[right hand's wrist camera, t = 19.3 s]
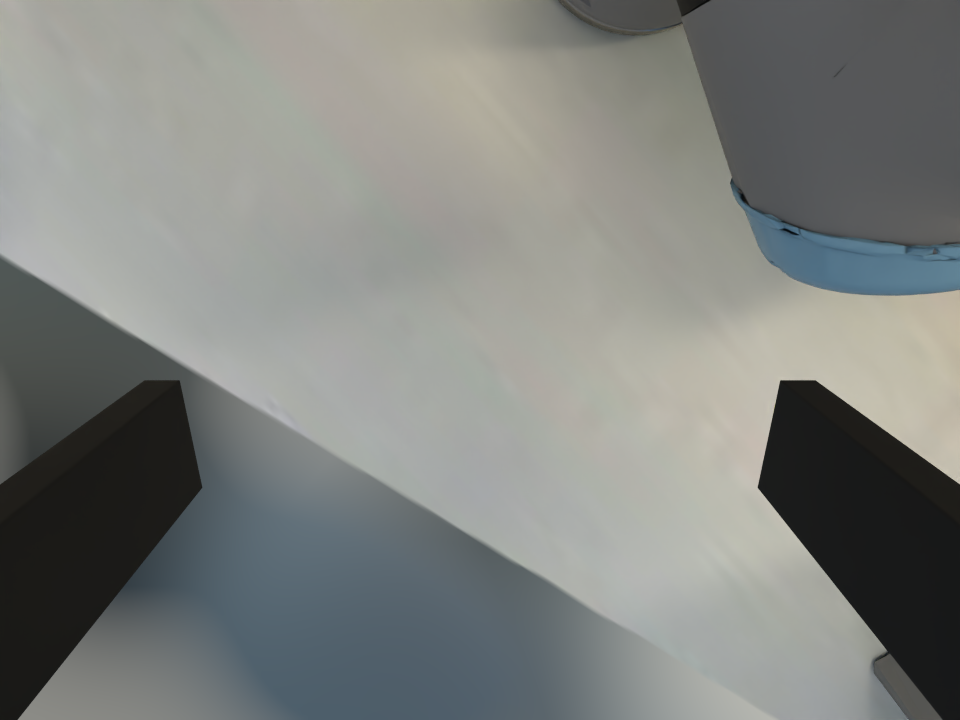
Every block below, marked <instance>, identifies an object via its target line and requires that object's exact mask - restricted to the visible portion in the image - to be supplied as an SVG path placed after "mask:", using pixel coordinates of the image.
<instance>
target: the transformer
mask: <svg viewBox="0 0 960 720" xmlns="http://www.w3.org/2000/svg"><path fill="white" fill-rule="evenodd" d="M874 674H875V675H876V676H877V678H878V679H879V680H880V682H881V683H882V684H883V686H884V687H885V688H886V690H887V691H888V692H889V694H890V695H891V696H892V698H893V699H894V700H895V702H896V703H897V704H898V706H899V707H900V708H901V710H902V711H903V712H904V714H905V715H906V716H907V718H908V719H909V720H942V719H941V717H940V716H939V715H938V713H937V712H936V711H935V710H934V708H933V707H932V706H931V705H930V703H929V702H928V701H927V700H926V698H925V697H924V696H923V695H922V693H921V692H920V691H919V690H918V688H917V687H916V686H915V685H914V683H913V682H912V681H911V680H910V678H909V677H908V676H907V675H906V673H905V672H904V671H903V669H902V668H901V667H900V666H899V664H898V663H897V662H896V661H895V659H894V658H893V657H892V656H891V654H888V655H887V656H885V657H883V658H881V659H879V660H877V661H875V662H874Z"/></svg>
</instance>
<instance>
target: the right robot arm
mask: <svg viewBox="0 0 960 720" xmlns="http://www.w3.org/2000/svg"><path fill="white" fill-rule="evenodd" d="M558 1H559V2H560V3H561V4H562V5H563V6H564V7H565V8H566V9H568V10H569V11H570V12H571V13H572V14H574V15H575V16H577V17H578V18H579V19H581V20H583V21H584V22H586V23H588V24H590V25H592V26H594V27H597V28H599V29H602V30H605V31H608V32H612V33H618V34H623V35H647V34H653V33H659V32H662V31H666V30H669V29H672V28H675V27H677V26H680V25H682V24H683V26H684V29H685V32H686V35H687V38H688V42H689V45H690V48H691V51H692V54H693V57H694V60H695V63H696V67H697V70H698V73H699V76H700V79H701V82H702V85H703V88H704V91H705V95H706V98H707V101H708V104H709V107H710V110H711V113H712V116H713V119H714V123H715V126H716V129H717V132H718V135H719V138H720V141H721V144H722V147H723V151H724V154H725V157H726V160H727V163H728V166H729V169H730V172H731V175H732V179H731V183H730V185H731V188H732V192H733V195H734V197H735V199H736V201H737V202H738V204H739V205H740V206H741V207H742V208H743V209H744V210H745V212H746V215H747V217H748V220H749V223H750V225H751V228H752V230H753V233H754V236H755V238H756V241H757V244H758V246H759V248H760V250H761V252H762V253H763V255H764V256H765V257H766V259H767V260H768V261H769V262H770V263H771V264H772V265H774V266H776V267H778V268H780V270H781V271H782V272H784V273H786V274H787V275H788V276H789V277H791V278H793V279H794V280H797V281H799V282H802V283H805V284H808V285H811V286H814V287H818V288H821V289H826V290H830V291H836V292H842V293H850V294H861V295H895V296H898V295H917V294H931V293H940V292H948V291H955V290H960V0H558ZM201 488H202V484H201V479H200V475H199V470H198V465H197V460H196V456H195V451H194V446H193V441H192V437H191V432H190V427H189V423H188V418H187V413H186V409H185V404H184V399H183V394H182V390H181V385H180V381H179V380H145V381H143V382H142V383H140V384H139V385H138V386H136V387H135V388H133V389H132V390H131V391H129V392H128V393H126V394H125V395H124V396H122V397H121V398H120V399H118V400H117V401H115V402H114V403H113V404H111V405H110V406H108V407H107V408H106V409H104V410H103V411H102V412H100V413H99V414H97V415H96V416H95V417H93V418H92V419H90V420H89V421H88V422H86V423H85V424H84V425H82V426H81V427H79V428H78V429H77V430H75V431H74V432H72V433H71V434H70V435H68V436H67V437H66V438H64V439H63V440H61V441H60V442H59V443H57V444H56V445H54V446H53V447H52V448H50V449H49V450H47V451H46V452H45V453H43V454H42V455H41V456H39V457H38V458H36V459H35V460H34V461H32V462H31V463H29V464H28V465H27V466H25V467H24V468H23V469H21V470H20V471H18V472H17V473H16V474H14V475H13V476H11V477H10V478H9V479H7V480H6V481H4V482H3V483H2V484H0V720H18V718H19V717H20V716H21V715H22V713H23V712H24V711H25V710H26V708H27V707H28V706H29V705H30V703H31V702H32V701H33V700H34V698H35V697H36V696H37V695H38V693H39V692H40V691H41V690H42V688H43V687H44V686H45V685H46V683H47V682H48V681H49V680H50V678H51V677H52V676H53V675H54V673H55V672H56V671H57V669H58V668H59V667H60V666H61V664H62V663H63V662H64V661H65V659H66V658H67V657H68V656H69V654H70V653H71V652H72V651H73V649H74V648H75V647H76V646H77V644H78V643H79V642H80V641H81V639H82V638H83V637H84V636H85V634H86V633H87V632H88V630H89V629H90V628H91V627H92V625H93V624H94V623H95V622H96V620H97V619H98V618H99V617H100V615H101V614H102V613H103V612H104V610H105V609H106V608H107V607H108V605H109V604H110V603H111V602H112V600H113V599H114V598H115V597H116V595H117V594H118V593H119V592H120V590H121V589H122V588H123V587H124V585H125V584H126V583H127V582H128V580H129V579H130V578H131V576H132V575H133V574H134V573H135V571H136V570H137V569H138V568H139V566H140V565H141V564H142V563H143V561H144V560H145V559H146V558H147V556H148V555H149V554H150V553H151V551H152V550H153V549H154V547H155V546H156V545H157V544H158V543H159V541H160V540H161V539H162V537H163V536H164V535H165V534H166V532H167V531H168V530H169V529H170V527H171V526H172V525H173V524H174V522H175V521H176V520H177V519H178V517H179V516H180V515H181V514H182V512H183V511H184V510H185V509H186V507H187V506H188V505H189V504H190V502H191V501H192V500H193V499H194V497H195V496H196V495H197V494H198V492H199V491H200V490H201ZM758 489H759V490H760V491H761V492H762V494H763V495H764V496H765V497H766V499H767V500H768V501H769V502H770V504H771V505H772V506H773V507H774V509H775V510H776V511H777V512H778V514H779V515H780V516H781V517H782V519H783V520H784V521H785V522H786V524H787V525H788V526H789V527H790V529H791V530H792V531H793V532H794V534H795V535H796V536H797V538H798V539H799V540H800V541H801V543H802V544H803V545H804V546H805V548H806V549H807V550H808V551H809V553H810V554H811V555H812V556H813V558H814V559H815V560H816V561H817V563H818V564H819V565H820V566H821V568H822V569H823V570H824V571H825V573H826V574H827V575H828V576H829V578H830V579H831V580H832V582H833V583H834V584H835V585H836V587H837V588H838V589H839V590H840V592H841V593H842V594H843V595H844V597H845V598H846V599H847V600H848V602H849V603H850V604H851V605H852V607H853V608H854V609H855V610H856V612H857V613H858V614H859V615H860V617H861V618H862V619H863V620H864V622H865V623H866V624H867V625H868V627H869V628H870V629H871V631H872V632H873V633H874V634H875V636H876V637H877V638H878V639H879V641H880V642H881V643H882V644H883V646H884V647H885V648H886V649H887V651H888V652H889V653H890V654H891V656H892V657H893V658H894V659H895V661H896V662H897V663H898V664H899V666H900V667H901V668H902V669H903V671H904V672H905V673H906V675H907V676H908V677H909V678H910V680H911V681H912V682H913V683H914V685H915V686H916V687H917V688H918V690H919V691H920V692H921V693H922V695H923V696H924V697H925V698H926V700H927V701H928V702H929V703H930V705H931V706H932V707H933V708H934V710H935V711H936V712H937V713H938V715H939V716H940V717H941V719H942V720H960V484H958V483H957V482H956V481H954V480H953V479H951V478H950V477H949V476H947V475H946V474H944V473H943V472H942V471H940V470H939V469H937V468H936V467H935V466H933V465H932V464H931V463H929V462H928V461H926V460H925V459H924V458H922V457H921V456H919V455H918V454H917V453H915V452H914V451H913V450H911V449H910V448H908V447H907V446H906V445H904V444H903V443H901V442H900V441H899V440H897V439H896V438H895V437H893V436H892V435H890V434H889V433H888V432H886V431H885V430H883V429H882V428H881V427H879V426H878V425H876V424H875V423H874V422H872V421H871V420H870V419H868V418H867V417H865V416H864V415H863V414H861V413H860V412H858V411H857V410H856V409H854V408H853V407H852V406H850V405H849V404H847V403H846V402H845V401H843V400H842V399H840V398H839V397H838V396H836V395H835V394H834V393H832V392H831V391H829V390H828V389H827V388H825V387H824V386H822V385H821V384H820V383H818V382H817V381H815V380H780V385H779V389H778V394H777V399H776V404H775V408H774V413H773V418H772V423H771V427H770V432H769V437H768V441H767V446H766V451H765V456H764V460H763V465H762V470H761V475H760V479H759V484H758Z"/></svg>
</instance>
